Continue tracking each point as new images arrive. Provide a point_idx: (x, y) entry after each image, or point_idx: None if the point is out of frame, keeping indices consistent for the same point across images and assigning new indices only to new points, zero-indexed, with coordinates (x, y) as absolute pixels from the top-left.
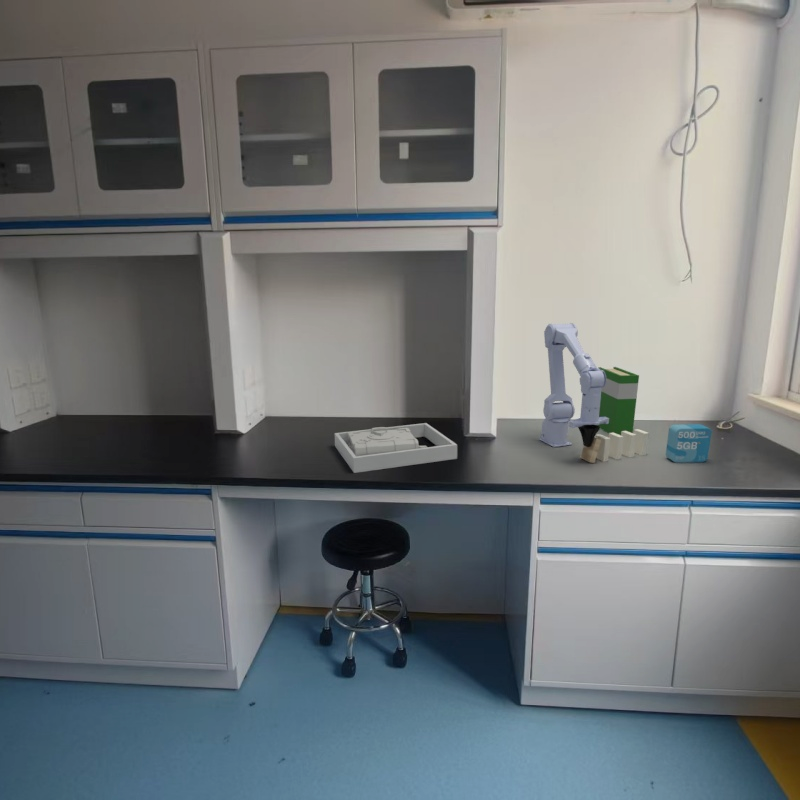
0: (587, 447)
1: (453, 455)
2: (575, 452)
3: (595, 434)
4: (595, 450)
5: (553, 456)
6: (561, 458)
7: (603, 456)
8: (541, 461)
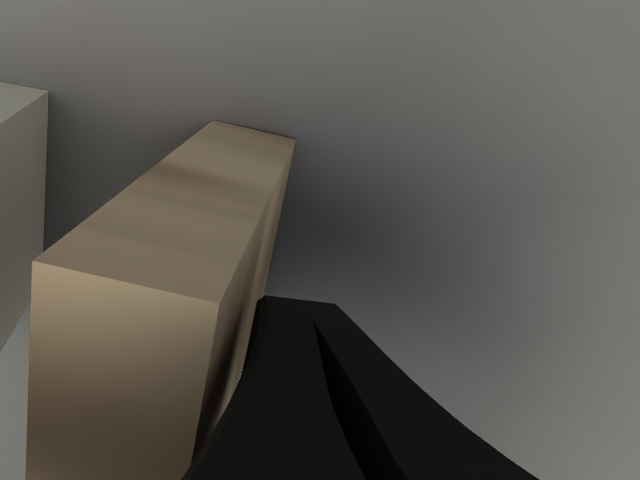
0: (241, 342)
1: None
2: None
3: (218, 461)
4: (216, 184)
5: None
6: None
7: (23, 115)
8: (637, 412)
